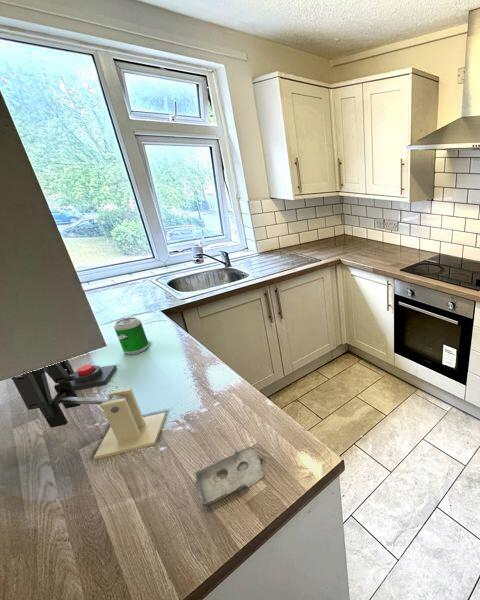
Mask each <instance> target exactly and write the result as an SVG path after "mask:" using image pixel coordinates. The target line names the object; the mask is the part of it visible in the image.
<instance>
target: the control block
mask: <svg viewBox="0 0 480 600" xmlns="http://www.w3.org/2000/svg"><path fill="white" fill-rule="evenodd" d="M92 365H93V364H92ZM93 367H94V370H95V371H93V372H92V373H90V374H87V375H83V376H80V375H79V373H78V371H77V370H76V371H74V373H73V374H72V375H70V376H75V380H73V381H70V382H71V384H72V386H73V388H74V390H75V392H76V391H80V390H81V391H82V390H86V389H91V388H92V389H93V388H97V387H102V386H103V387H104V386H107V385H108V383H109V382H110V380H111V379H112V377H113V376H114V374H115V373H116V371H117V370H118V367H117V365H116V364H112V365H106V366H102V367H101V366H100V365H93Z"/></svg>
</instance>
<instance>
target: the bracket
mask: <svg viewBox="0 0 480 600" xmlns="http://www.w3.org/2000/svg"><path fill="white" fill-rule="evenodd" d="M114 395H124V396H128V402H127V401H126V398H123V399H118V400H113V401H109V402H104V403H102V404H101V405H100V406H101V409H102V411H103V413H104V416H105V418H106V420H107V422H108V423H109V428H108V430H107V432H106V434H105V435H104V438H103V439H102V441H101V443H100V444H99V446H98V448H97V449H96V452H95V454H94V456H93V459H94V460H95V461H96V460H100V459H103V458H104V459H105V458H108V457H111V456H115V455H121V454H123V453H127V452H133V451H136V450H140V449H144V448H149V447H153V446H156V445H157V442H158V439H159V436H160V434H161V431H162V429H163V425H164V422H165V420H166V416H167V412H159V413H156V414H150V415H147V416H143V414H142V411H141V408H140V406H139V404H138V402H137V399H136V397H135V394H134V391H133V389H132V387H128V388H123V389H118V390H113V391H109V392H108V394H107V396H108V399H112V398H113V396H114Z"/></svg>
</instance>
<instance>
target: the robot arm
mask: <svg viewBox="0 0 480 600" xmlns="http://www.w3.org/2000/svg"><path fill="white" fill-rule="evenodd" d="M35 370H36V371H33V370H31V371H32V372H29V373H26V374H23V375H20V376H16V377H13V378H10V379H11V380H12V382H13V383H14V385H15V388H16V389H17V391H18V393H19V395H20V397H21V399H22V401H23V403H24V405H25V407H26V409H27V410H29V411H30V410H37V409H39V411H40V412H41V414H42V416H43V418H44V419H45V420H46V422H47V424H48V426H49V427H50V429H52V428H53V429H54V428H57V427H62V426H66V425H67V424H68V423H69V422H68V419H67V418H66V416H65V414H64V411H63V409H62V408H61V407H60V404H58V402H57V400H56V399H55V400H52V399H53V397H52V394H51V393H52V392H51V390H50V386H49V382H48V378H47V375H48V376H49V378H50V379H51V380H52V381H53V382H54V383H55V385H54V386H53V388H54V390H55V392H56V394H57V393H58V392H59V391H60V390H67V391H68V394H67V395H66V396H65V397H78V395H77V392H76V391H75V390H74V388H73V386H72V384H71V382H70V381H73V380H75V376H71V375H72V374H73V373H74V372H75V371H74V369H73V366H72V365H71V362H70V361H69V359H68V360H66V361H63V362H60V363H57V364H54V365H51V366H48V367H44V368H42V369H35ZM62 405H63V407H64V409H65V410H67V409H72V408H77V407H80V406H81V405H82V404H71V403H62Z"/></svg>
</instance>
